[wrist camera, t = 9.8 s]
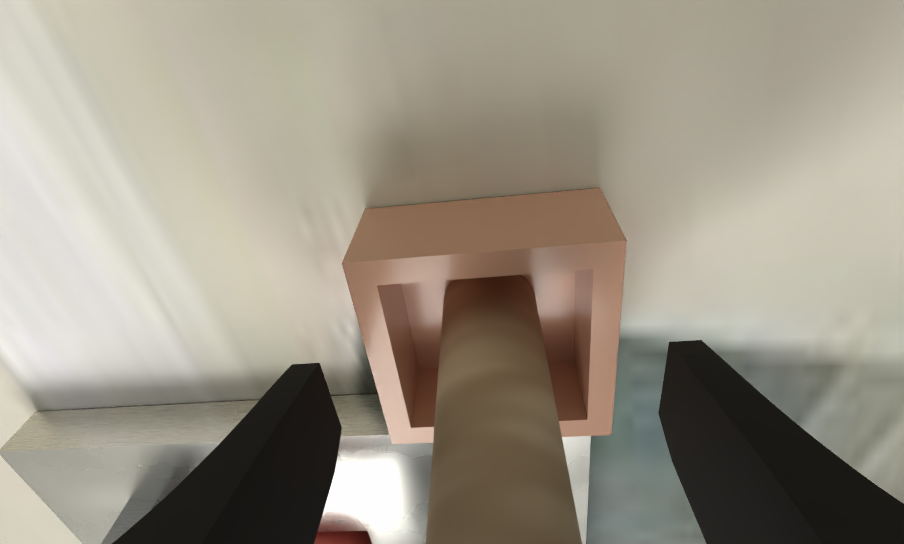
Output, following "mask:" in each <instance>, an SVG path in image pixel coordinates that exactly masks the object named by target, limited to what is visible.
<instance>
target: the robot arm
mask: <svg viewBox="0 0 904 544" xmlns="http://www.w3.org/2000/svg"><path fill="white" fill-rule="evenodd" d="M659 416H660V420H661V424H662V427H663V431H664V435H665V438H666V442H667V445H668V448H669V452H670V455H671V458H672V462H673V464H674V467H675V469H676V472H677V474H678V476H679V479H680V481H681V484H682V486H683V488H684V491H685V493H686V496H687V498H688V501H689V503H690V505H691V508H692V510H693V512H694V515H695V517H696V519H697V522H698V524H699V527H700V529H701V531H702V534H703V536H704V538H705V541H706V543H707V544H904V504H903V503H901V502H900V501H898V500H897V499H896V498H894V497H893V496H891V495H890V494H888V493H887V492H885V491H884V490H882V489H881V488H880V487H878V486H877V485H875V484H874V483H873V482H871V481H870V480H868V479H867V478H866V477H864V476H863V475H862V474H860V473H859V472H857V471H856V470H855V469H853V468H852V467H851V466H849V465H848V464H847V463H846V462H844V461H843V460H842V459H840V458H839V457H838V456H836V455H835V454H834V453H833V452H831V451H830V450H829V449H827V448H826V447H825V446H823V445H822V444H821V443H820V442H818V441H817V440H816V439H814V438H813V437H812V436H811V435H810V434H808V433H807V432H806V431H805V430H803V429H802V428H801V427H800V426H799V425H797V424H796V423H795V422H794V421H793V420H791V419H790V418H789V417H788V416H787V415H785V414H784V413H783V412H782V411H781V410H780V409H778V408H777V407H776V406H775V405H774V404H772V403H771V402H770V401H769V400H768V399H767V398H765V397H764V396H763V395H762V394H761V393H760V392H759V391H757V390H756V389H755V388H754V387H753V386H752V385H751V384H750V383H749V382H747V381H746V380H745V379H744V378H743V377H742V376H741V375H740V374H738V373H737V372H736V371H735V370H734V369H733V368H732V367H731V366H730V365H728V364H727V363H726V362H725V361H724V360H723V359H722V358H721V357H720V356H718V355H717V354H716V353H715V352H714V351H713V350H712V349H711V348H710V347H708V346H707V345H706V344H705V343H704V342H703V341H702V340H696V341H679V342H669V347H668V354H667V361H666V367H665V374H664V381H663V387H662V394H661V401H660V407H659ZM341 431H342V426H341V424H340V421H339V418H338V415H337V412H336V409H335V406H334V403H333V401H332V398H331V395H330V392H329V389H328V386H327V383H326V381H325V378H324V375H323V372H322V369H321V366H320V363H310V364H293V365H291V366H290V367H289V368H288V369H287V370H286V371H285V373H284V374H283V375H282V376H281V377H280V378H279V379H278V380H277V381H276V382H275V384H274V385H273V386H272V387H271V388H270V389H269V390H268V391H267V392H266V394H265V395H264V396H263V397H262V398H261V399H260V400H259V401H258V402H257V404H256V405H255V406H254V407H253V408H252V409H251V410H250V411H249V412H248V414H247V415H246V416H245V417H244V418H243V419H242V420H241V421H240V422H239V423H238V424H237V425H236V426H235V428H234V429H233V430H232V431H231V432H230V433H229V434H228V435H227V436H226V437H225V438H224V439H223V440H222V442H221V443H220V444H219V445H218V446H217V447H216V448H215V449H214V450H213V451H212V452H211V453H210V454H209V455H208V456H207V457H206V458H205V459H204V460H203V461H202V462H201V463H200V464H199V465H198V466H197V467H196V468H195V469H194V470H193V471H192V472H191V473H190V474H189V475H188V476H187V477H186V478H185V479H184V480H183V481H182V482H181V483H180V484H179V485H178V486H177V487H176V488H174V489H173V490H172V491H171V492H170V493H169V494H168V495H167V496H166V497H165V498H164V499H163V500H162V501H160V502H159V503H158V504H157V505H156V506H155V507H154V508H153V509H152V510H151V511H149V512H148V513H147V514H146V515H145V516H144V517H142V518H141V519H140V520H139V521H138V522H137V523H136V524H134V525H133V526H132V527H131V528H130V529H129V530H127V531H126V532H125V533H124V534H123V535H122V536H120V537H119V538H118V539H117V540H116V541H114V542H113V543H112V544H314V542H315V538H316V535H317V532H318V528H319V525H320V522H321V518H322V515H323V512H324V508H325V505H326V501H327V498H328V494H329V491H330V488H331V484H332V480H333V477H334V473H335V467H336V462H337V456H338V450H339V444H340V437H341Z"/></svg>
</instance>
